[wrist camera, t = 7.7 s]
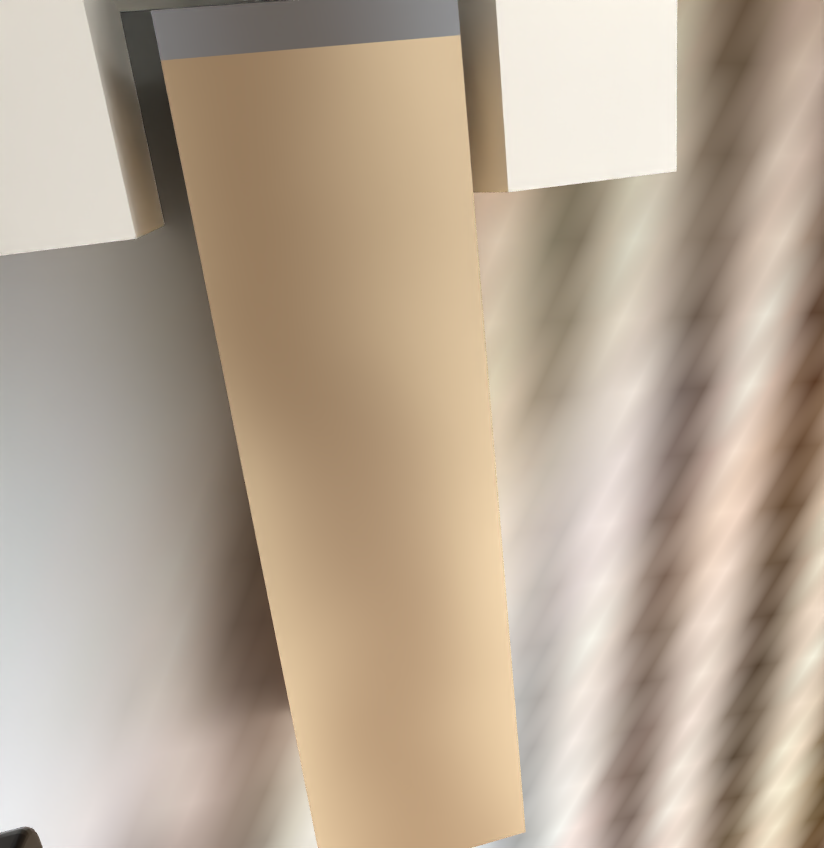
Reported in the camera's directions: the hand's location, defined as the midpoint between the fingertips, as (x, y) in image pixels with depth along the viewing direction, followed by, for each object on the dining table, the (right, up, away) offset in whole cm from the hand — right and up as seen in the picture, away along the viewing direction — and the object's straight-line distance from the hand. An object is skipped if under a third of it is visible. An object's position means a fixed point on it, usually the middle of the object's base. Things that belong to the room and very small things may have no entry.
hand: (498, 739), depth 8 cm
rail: (-3, +3, +10) cm, 11 cm away
